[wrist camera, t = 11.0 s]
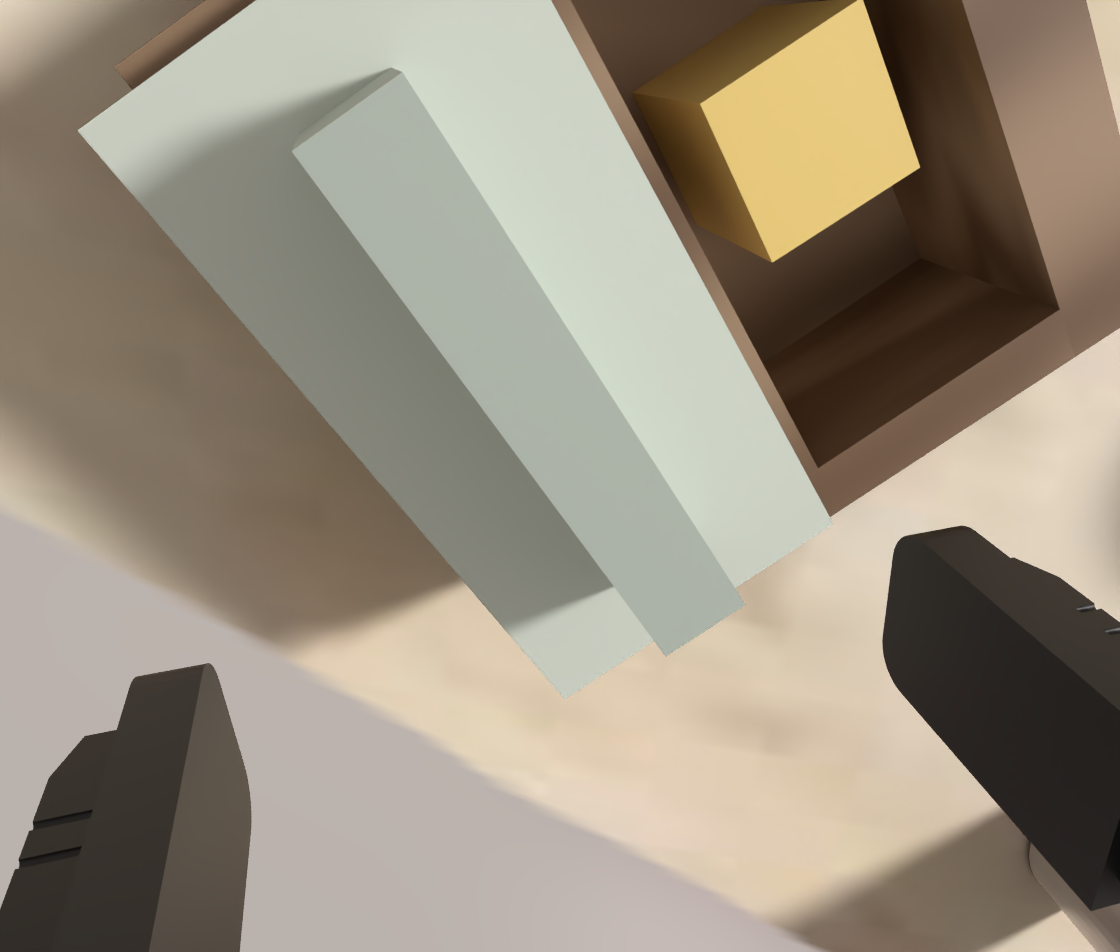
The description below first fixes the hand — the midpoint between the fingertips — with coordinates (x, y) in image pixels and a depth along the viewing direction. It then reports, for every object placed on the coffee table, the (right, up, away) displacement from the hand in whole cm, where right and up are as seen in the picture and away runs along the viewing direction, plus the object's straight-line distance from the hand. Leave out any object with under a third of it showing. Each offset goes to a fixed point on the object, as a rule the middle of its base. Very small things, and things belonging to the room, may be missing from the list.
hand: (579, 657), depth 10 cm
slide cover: (-1, +5, +9) cm, 10 cm away
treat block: (+4, +12, +14) cm, 19 cm away
